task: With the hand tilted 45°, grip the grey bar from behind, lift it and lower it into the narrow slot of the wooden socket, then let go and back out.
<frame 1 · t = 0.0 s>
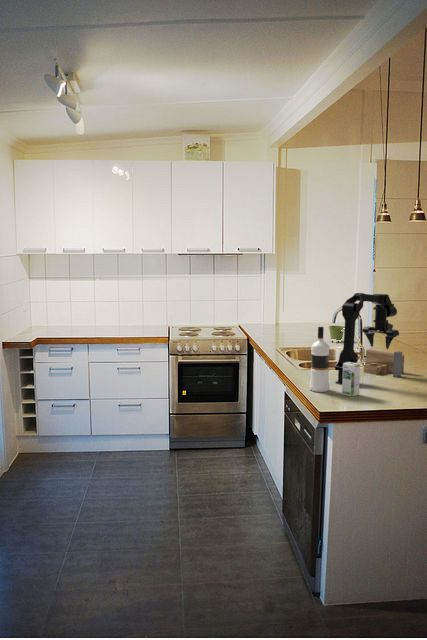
hand: (379, 347, 282), 15 cm above the worktop, tool pointing down, fingers open, 9 cm apart
vodka: (319, 390, 253), on the worktop
wooden socket: (375, 372, 290), on the worktop
grey bar: (397, 376, 280), on the worktop
syrup box: (350, 394, 245), on the worktop
plant pot: (336, 342, 387), on the worktop
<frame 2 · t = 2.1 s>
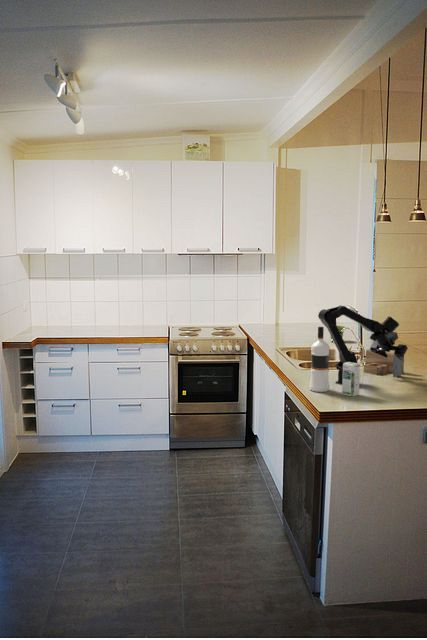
hand: (394, 358, 277), 10 cm above the worktop, tool tilted 45°, fingers open, 9 cm apart
nothing on the worktop moved.
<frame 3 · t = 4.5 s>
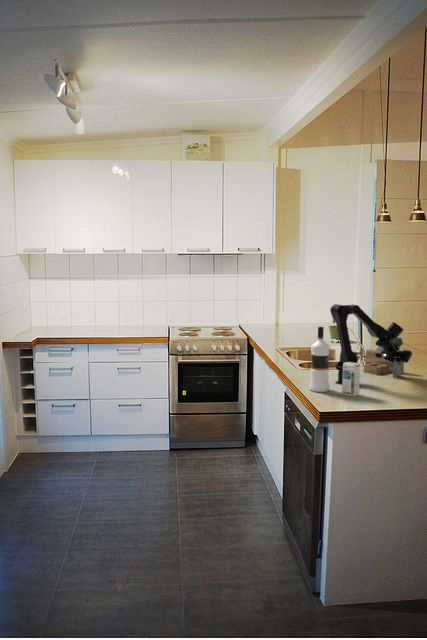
hand: (399, 363, 280), 7 cm above the worktop, tool tilted 45°, fingers closed on grey bar, 2 cm apart
grey bar: (397, 376, 280), on the worktop, touching gripper
everything else where it was.
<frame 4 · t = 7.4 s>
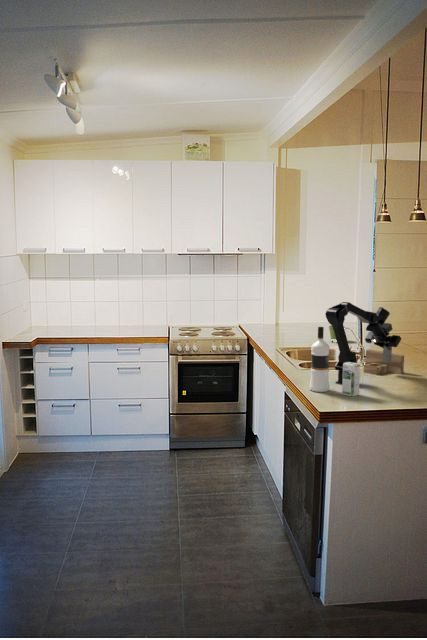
hand: (389, 349, 284), 13 cm above the worktop, tool tilted 45°, fingers closed on grey bar, 2 cm apart
grey bar: (386, 361, 284), point 7 cm above the worktop, touching gripper
everything else where it was.
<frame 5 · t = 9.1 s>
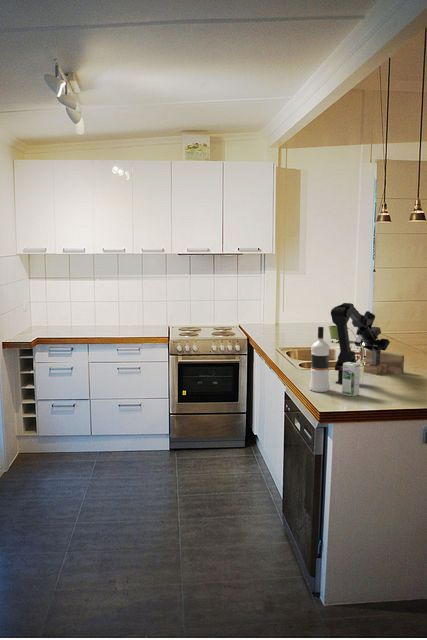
hand: (377, 352, 290), 11 cm above the worktop, tool tilted 45°, fingers closed on grey bar, 2 cm apart
grey bar: (375, 364, 290), point 4 cm above the worktop, touching gripper
everything else where it was.
when the fingers open (8 cm above the worktop, at t = 10.5 s): grey bar drops 1 cm, resting in wooden socket.
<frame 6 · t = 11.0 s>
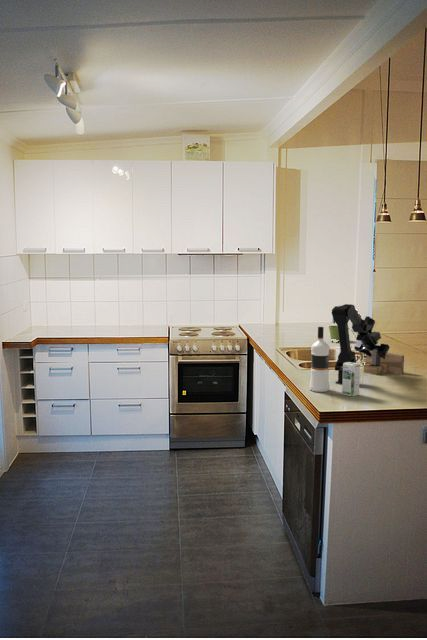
hand: (377, 357, 290), 8 cm above the worktop, tool tilted 45°, fingers open, 8 cm apart
grey bar: (375, 372, 290), resting in wooden socket
everything else where it was.
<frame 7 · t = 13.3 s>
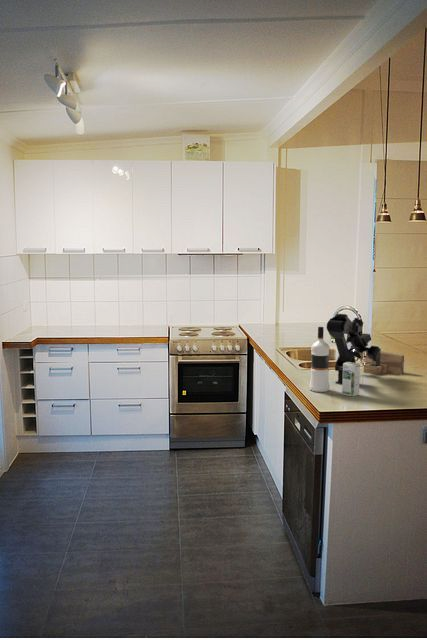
hand: (368, 359, 285), 8 cm above the worktop, tool tilted 45°, fingers open, 9 cm apart
nothing on the worktop moved.
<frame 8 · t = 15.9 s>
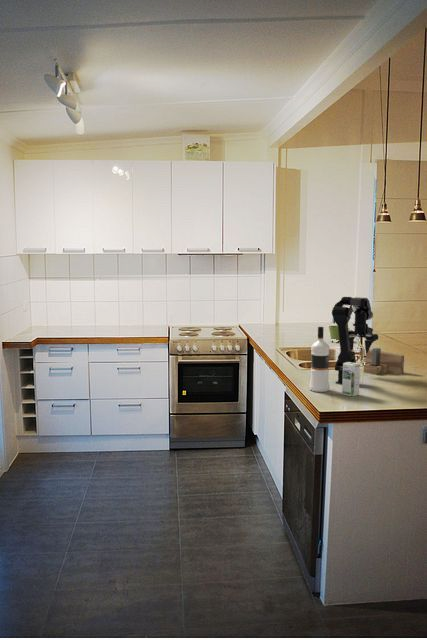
hand: (359, 351, 279), 13 cm above the worktop, tool pointing down, fingers open, 9 cm apart
nothing on the worktop moved.
at the end: grey bar 0.1 cm off-centre on the wooden socket, point 0.0 cm above the wooden socket's base; grey bar tilted 0°; the gripper is holding nothing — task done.
